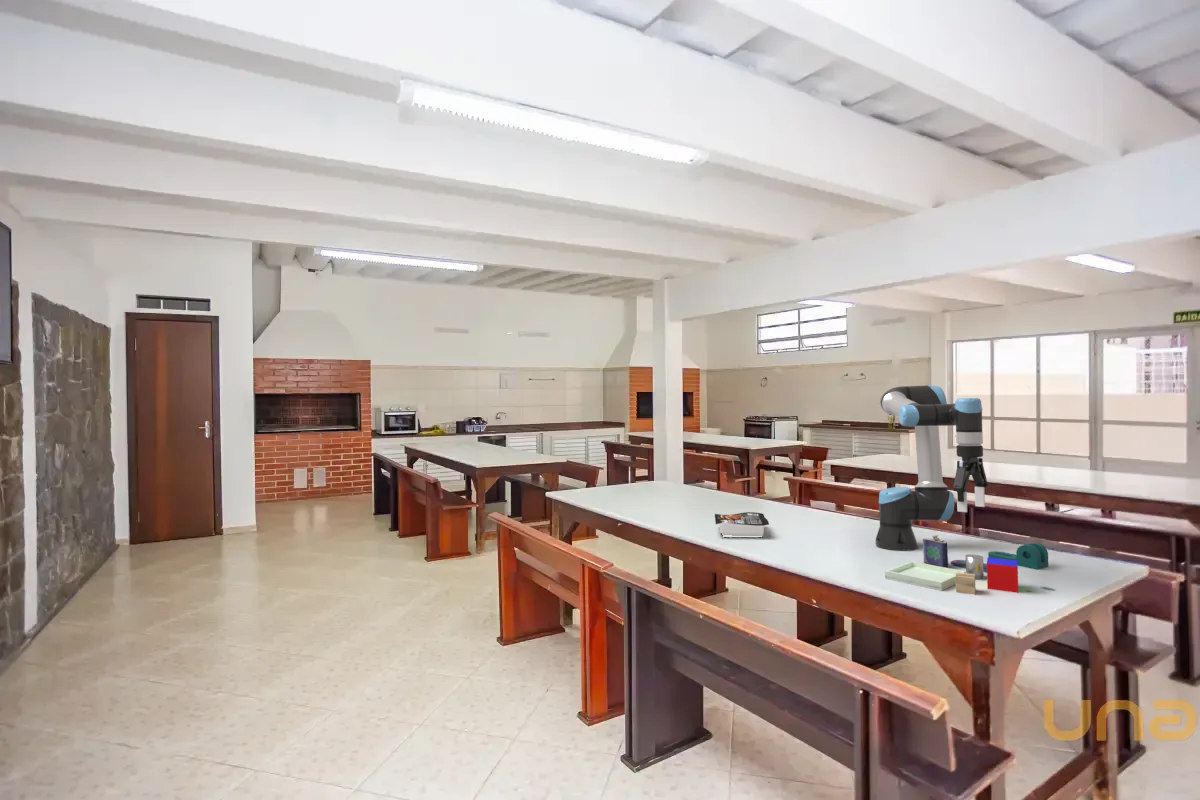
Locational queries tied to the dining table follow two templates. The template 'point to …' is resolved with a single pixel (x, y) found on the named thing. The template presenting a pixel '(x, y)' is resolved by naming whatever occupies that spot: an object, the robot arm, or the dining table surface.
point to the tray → (923, 575)
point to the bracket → (1026, 556)
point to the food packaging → (742, 524)
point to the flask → (935, 552)
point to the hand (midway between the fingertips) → (971, 509)
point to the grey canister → (975, 566)
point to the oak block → (965, 583)
